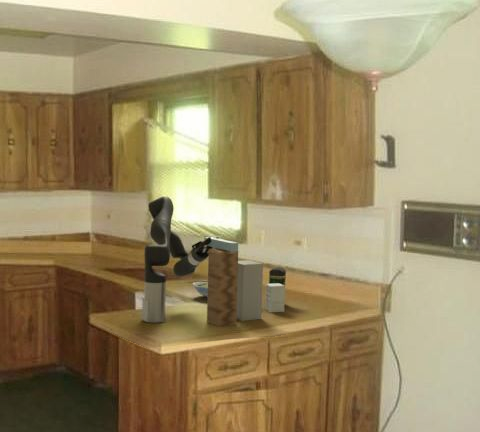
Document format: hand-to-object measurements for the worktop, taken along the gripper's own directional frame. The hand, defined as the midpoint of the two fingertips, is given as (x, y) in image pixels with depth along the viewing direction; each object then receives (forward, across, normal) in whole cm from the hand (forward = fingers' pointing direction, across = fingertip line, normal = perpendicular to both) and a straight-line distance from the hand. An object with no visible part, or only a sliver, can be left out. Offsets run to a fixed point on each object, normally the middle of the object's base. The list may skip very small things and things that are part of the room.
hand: (214, 239), depth 322 cm
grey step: (-17, +16, +32) cm, 39 cm away
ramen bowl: (-57, +26, +8) cm, 63 cm away
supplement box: (-23, +37, +28) cm, 52 cm away
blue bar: (+4, 0, +6) cm, 7 cm away
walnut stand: (-11, 0, +35) cm, 37 cm away
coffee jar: (-33, +46, +22) cm, 61 cm away
